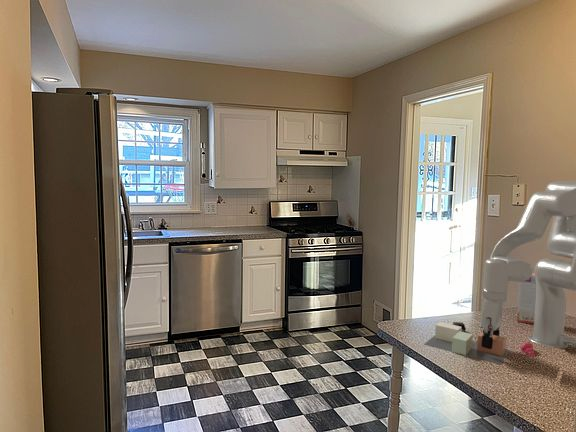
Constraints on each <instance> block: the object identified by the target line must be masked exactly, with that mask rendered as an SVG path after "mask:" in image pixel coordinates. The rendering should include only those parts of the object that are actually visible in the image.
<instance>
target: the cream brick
mask: <svg viewBox="0 0 576 432" xmlns="http://www.w3.org/2000/svg"><path fill="white" fill-rule="evenodd" d="M434 330H435V331H434V336H435V338H437V339H441V340H445V341H449V342H452V338H453V337H454V336H455V335H456V334H457V333H458V332H459V331H461V332H463V330H462V327H460V326H456V325H452V324H450V323H446V322H443V321H439V322H438V323H436V324H435V329H434Z"/></svg>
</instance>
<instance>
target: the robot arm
mask: <svg viewBox="0 0 576 432" xmlns="http://www.w3.org/2000/svg"><path fill="white" fill-rule="evenodd" d="M552 217H553V220H552V224H551V226H550V227H551V228H550V230H549V234H548V239H547V242H546V249H547V251H548V253H550V254H551V255H554V256H557V257H562V258H569V259H572V261H567V260H563V259H557V258H551V257H545V258H541V259H539V260H538V261H537V262H536V264H535V267H534V273H535V279H536V303H535V317H534V324H533V330H532V331H533V332H532V334H530V335H528V338H527V339H528V341H531V342H533V343H535V344H537V345H540V346H545V347H549V348H550V347H551V348H556V349H557V348H559V349H561V348H562V349H563V348H564V349H568V348H569V344H570V345H573V346H576V338H575V337H571V336H568V335H566V331H565V324H566V323H565V321H566V311H567V309H566V308H567V295H566V292H565V289H567V290H571V291H575V292H576V180H574V181H573V180H561V181H560V180H556V181H552V182H550V183H548V184H547V185H546V187H545V190H544V191H537V192H536V191H535V193H533V194H531V196H530V198H529V200H528V202H527V204H526V206H525V209H524V211H523V212H522V215H521V217H520V219H519V221H518V224H517V226H516V228H515V229H512V230H511V231H510V232H508V233H507V234H506V235H505V236H504V237H502V238H501V239H500V240H499V241H498V242H497V243H496V245H494V248H493V250H492V252H491V254H490V258H487V259H486V260H485V261H484V264H483V265H484V267H483V277H482V278H483V279H482V280H483V281H482V290H481V291H482V292H481V299H482V300H483V302H482V308H481V316H480V322H479V327H480V328H481V329H483V330H482V332H483V335H482V347H484V348H488V349H492V343H493V337H492V335H496V336H500V326H501V324H502V317H503V305H504V303H506V302H507V295H508V294H507V293H508V282H509V281H510V282H518V283H519V282H522V281H526V280H528V279H529V278H530V277H531V275H532V273H533V267H532V266H531V264H530V263H528V262H527V261H526V260H523V259H518V258H515V257H510V255H511V253H512V252H513V250H515V249H517V248H518V247H520V246H522V245H525V244H528V243H532V242H535V241H539V240H541V239H542V238H543V237H544V234H545V233H546V231H547V227H548V226H549V223H550V222H551V219H552Z"/></svg>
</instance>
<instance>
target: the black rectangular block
mask: <svg viewBox="0 0 576 432" xmlns="http://www.w3.org/2000/svg"><path fill="white" fill-rule="evenodd" d="M451 325H456V326H460V327H462V332H465V333H466V330H467V328H466V327H465V326H466V324H465V323H464V322H461V321H460V322H458V321H456V322H452V324H451Z"/></svg>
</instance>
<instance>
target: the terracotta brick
mask: <svg viewBox="0 0 576 432" xmlns="http://www.w3.org/2000/svg"><path fill="white" fill-rule="evenodd" d="M482 335H483V331H482V332H480V333H478V335H477V342H478V343H477V350H480V351H484V352H488V353H492V354H496V355H500V356H503V354H504V353H505V349H507V348H506V346H507V337H506V336H505V337H504V336H500V335H499V336H496V335H492V337H493V343H492V349H488V348H484V347H482Z"/></svg>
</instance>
